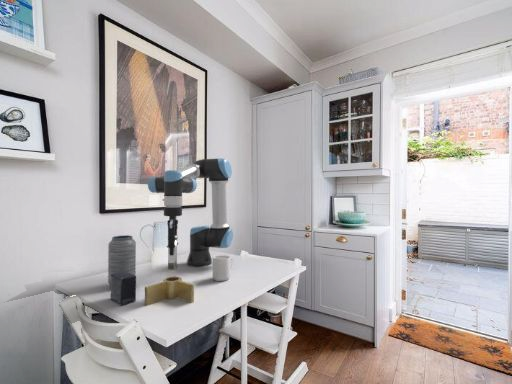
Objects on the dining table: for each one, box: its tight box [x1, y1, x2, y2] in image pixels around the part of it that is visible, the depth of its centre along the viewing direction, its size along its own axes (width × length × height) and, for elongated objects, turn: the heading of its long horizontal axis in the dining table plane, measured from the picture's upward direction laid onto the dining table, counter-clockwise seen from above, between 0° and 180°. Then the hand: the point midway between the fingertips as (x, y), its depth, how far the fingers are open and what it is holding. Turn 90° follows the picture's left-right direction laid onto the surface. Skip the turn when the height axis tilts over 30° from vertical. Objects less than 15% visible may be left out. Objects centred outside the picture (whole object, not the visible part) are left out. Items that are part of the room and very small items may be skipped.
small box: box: [109, 271, 137, 307], centre depth 110 cm, size 11×6×10 cm, turn 48°
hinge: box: [144, 275, 195, 306], centre depth 113 cm, size 13×19×7 cm
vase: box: [107, 234, 137, 286], centre depth 128 cm, size 12×12×23 cm
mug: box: [212, 254, 234, 282], centre depth 139 cm, size 12×9×11 cm
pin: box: [167, 234, 179, 271], centre depth 115 cm, size 4×4×14 cm
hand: (172, 261), depth 115 cm, fingers closed on pin, 3 cm apart
